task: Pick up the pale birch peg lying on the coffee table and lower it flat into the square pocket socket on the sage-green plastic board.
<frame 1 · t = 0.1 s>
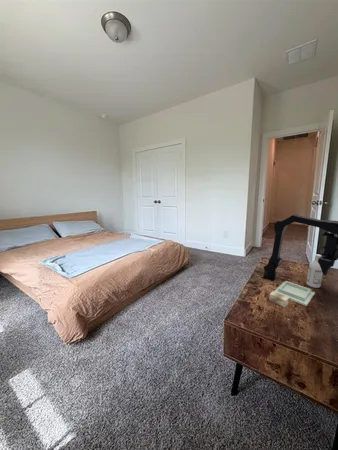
hand: (326, 272, 103), 15 cm above the table, tool pointing down, fingers open, 9 cm apart
peg: (278, 302, 102), on the table
bath foam: (313, 285, 117), on the table
socket board: (293, 293, 109), on the table
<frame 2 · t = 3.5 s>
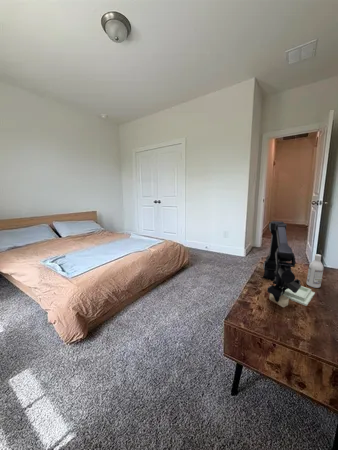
hand: (278, 299, 101), 1 cm above the table, tool pointing down, fingers closed on peg, 4 cm apart
peg: (278, 302, 101), on the table, touching gripper
everything else where it was.
when the fingers open (4 cm above the table, at t = 8.0 s): peg drops 2 cm, resting on socket board.
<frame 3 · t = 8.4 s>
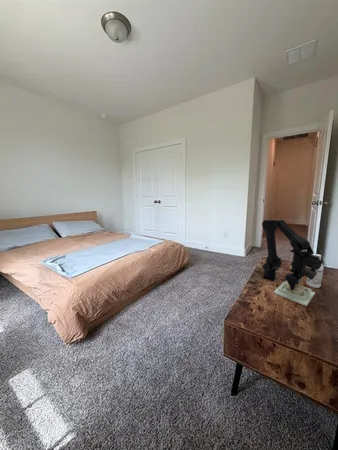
hand: (294, 287, 108), 4 cm above the table, tool pointing down, fingers open, 9 cm apart
peg: (294, 292, 109), point 1 cm above the table, touching socket board
everything else where it was.
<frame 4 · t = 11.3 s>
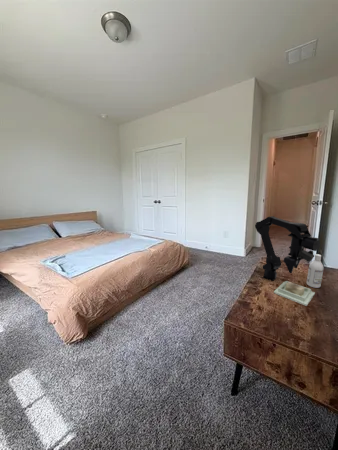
hand: (293, 270, 111), 12 cm above the table, tool pointing down, fingers open, 9 cm apart
nothing on the table moved.
at the end: peg 0.0 cm off-centre on the socket board, point 1.0 cm above the socket board's base; peg tilted 0°; the gripper is holding nothing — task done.
